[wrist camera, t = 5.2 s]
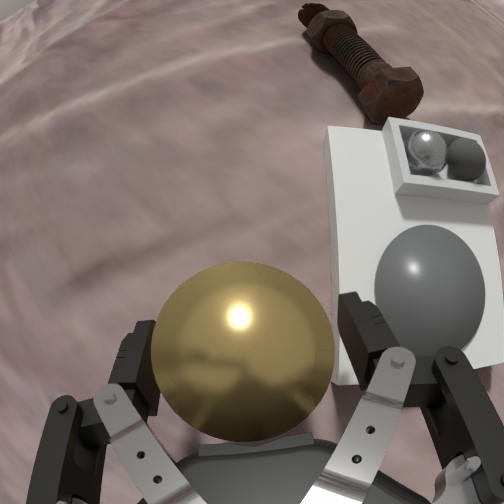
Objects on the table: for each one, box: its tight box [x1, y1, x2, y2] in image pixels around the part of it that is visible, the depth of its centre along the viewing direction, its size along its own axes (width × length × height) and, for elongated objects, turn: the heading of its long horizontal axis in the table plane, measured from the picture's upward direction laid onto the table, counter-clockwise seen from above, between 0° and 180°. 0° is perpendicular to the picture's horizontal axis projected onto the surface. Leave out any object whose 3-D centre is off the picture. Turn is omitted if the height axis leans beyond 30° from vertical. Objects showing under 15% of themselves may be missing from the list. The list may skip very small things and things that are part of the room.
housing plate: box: [323, 117, 504, 385], centre depth 17 cm, size 12×16×4 cm
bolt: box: [298, 3, 424, 125], centre depth 22 cm, size 6×5×15 cm
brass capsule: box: [151, 262, 335, 442], centre depth 13 cm, size 5×5×10 cm
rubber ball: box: [447, 138, 486, 181], centre depth 17 cm, size 3×3×3 cm
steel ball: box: [405, 129, 448, 176], centre depth 17 cm, size 3×3×3 cm
